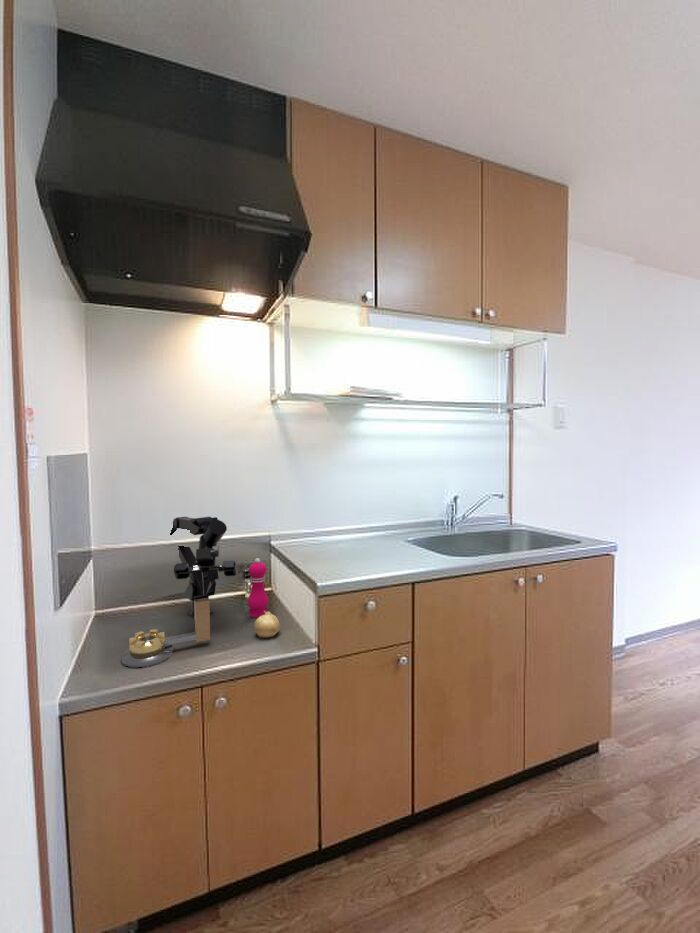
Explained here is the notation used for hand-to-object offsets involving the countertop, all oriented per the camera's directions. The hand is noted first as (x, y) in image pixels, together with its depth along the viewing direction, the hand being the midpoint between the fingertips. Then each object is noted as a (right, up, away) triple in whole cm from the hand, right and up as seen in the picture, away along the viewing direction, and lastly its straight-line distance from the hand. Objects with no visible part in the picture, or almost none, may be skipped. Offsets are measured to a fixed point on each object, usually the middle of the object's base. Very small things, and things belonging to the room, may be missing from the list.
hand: (204, 594), depth 135 cm
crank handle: (-7, -12, -8) cm, 16 cm away
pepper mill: (+13, -13, +19) cm, 26 cm away
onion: (+19, -14, +3) cm, 24 cm away
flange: (-12, -14, -11) cm, 22 cm away
